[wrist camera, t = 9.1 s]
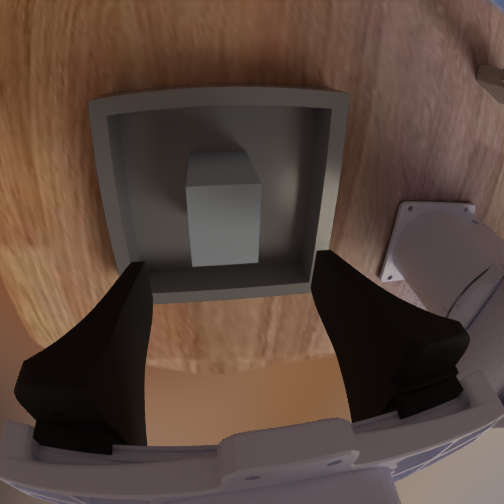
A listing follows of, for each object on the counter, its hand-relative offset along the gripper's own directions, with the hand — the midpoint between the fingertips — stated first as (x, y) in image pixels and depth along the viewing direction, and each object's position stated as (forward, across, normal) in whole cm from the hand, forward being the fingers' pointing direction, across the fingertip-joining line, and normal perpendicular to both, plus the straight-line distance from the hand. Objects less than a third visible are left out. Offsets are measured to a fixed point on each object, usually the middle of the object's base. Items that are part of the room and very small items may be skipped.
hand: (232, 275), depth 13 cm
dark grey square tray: (+9, 0, 0) cm, 9 cm away
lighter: (+9, -21, -11) cm, 26 cm away
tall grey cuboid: (+9, 0, 0) cm, 9 cm away
